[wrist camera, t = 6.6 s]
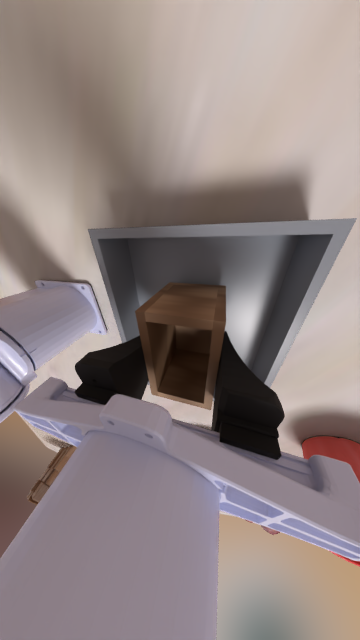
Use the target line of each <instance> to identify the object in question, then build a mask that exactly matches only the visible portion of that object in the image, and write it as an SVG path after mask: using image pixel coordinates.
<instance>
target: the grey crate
mask: <svg viewBox="0 0 360 640" xmlns="http://www.w3.org/2000/svg"><path fill="white" fill-rule="evenodd" d="M356 219H357V218H353V219H328V220H303V221H278V222H254V223H229V224H204V225H180V226H155V227H130V228H105V229H88V232H89V235H90V238H91V241H92V245H93V248H94V251H95V255H96V258H97V261H98V264H99V268H100V271H101V274H102V278H103V281H104V284H105V287H106V291H107V294H108V297H109V301H110V304H111V307H112V310H113V314H114V317H115V320H116V324H117V327H118V330H119V333H120V337H121V340H122V343H124V342H127V341H129V340H131V339H133V338H135V337H137V336H139V335H140V334H139V329H138V324H137V319H136V314H135V311H136V310H137V309H138V308H139V307H141V306H142V305H143V304H144V303H145V302H146V301H148V300H149V299H150V298H151V297H152V296H154V295H155V294H156V293H157V292H158V291H160V290H161V289H162V288H163V287H164V286H166V285H167V284H168V283H169V282H172V283H189V284H206V285H223V286H226V326H225V331H227V334H228V336H229V339H230V341H231V343H232V345H233V347H234V348H235V350H236V352H237V353H238V355H239V356H240V358H241V359H242V361H243V362H244V363H245V364H246V366H247V367H248V368H249V369H250V370H251V371H252V372H253V373H254V374H255V375H256V376H257V377H258V378H259V379H260V380H261V381H262V382H263V383H264V384H265V385H267V386H268V387H269V388H270V387H271V385H272V383H273V381H274V379H275V377H276V375H277V373H278V371H279V369H280V367H281V366H282V364H283V362H284V360H285V358H286V356H287V354H288V352H289V350H290V348H291V346H292V344H293V342H294V340H295V338H296V336H297V334H298V332H299V330H300V328H301V326H302V325H303V323H304V321H305V319H306V317H307V315H308V313H309V311H310V309H311V307H312V305H313V303H314V301H315V299H316V297H317V295H318V293H319V291H320V289H321V287H322V285H323V284H324V282H325V280H326V278H327V276H328V274H329V272H330V270H331V268H332V266H333V264H334V262H335V260H336V258H337V256H338V254H339V252H340V250H341V248H342V246H343V244H344V243H345V241H346V239H347V237H348V235H349V233H350V231H351V229H352V227H353V225H354V223H355V221H356ZM147 384H148V385H150V383H149V381H148V383H147ZM215 385H216V384H215ZM214 397H215V390H214V395H213V401H214Z"/></svg>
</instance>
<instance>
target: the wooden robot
mask: <svg viewBox="0 0 360 640" xmlns="http://www.w3.org/2000/svg"><path fill="white" fill-rule="evenodd" d="M76 449H77V447H76V446H74V445H73V446H70V447H66V448H64V447H62V448H61V449H60V450H59V452H58V453H57V455H56V456H55V458H54V459H53V460H52V461H51V463H50V464H49V465H48V467H47V469H46V471H45V472H44V473H43V475H42V476H41V477H40V479H39V480H37V482H36V483H35V484H34V486H33V487H32V488H31V490H30V493H29V495H28V496H27V498H28V501H29V502H32V503H33V504H36V505H37V504H38V502H40V501H41V499H42V498H43V496H44V495H45V493H46V492H47V490H48V489H49V488H50V486H51V485H52V483H53V482H54V480H55V479H56V477H57V476H58V475H59V473H60V472H61V470H62V469H63V467H64V466H65V464H66V463H67V462H68V460H69V459H70V457H71V456H72V454H73V453H74V451H75V450H76Z"/></svg>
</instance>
